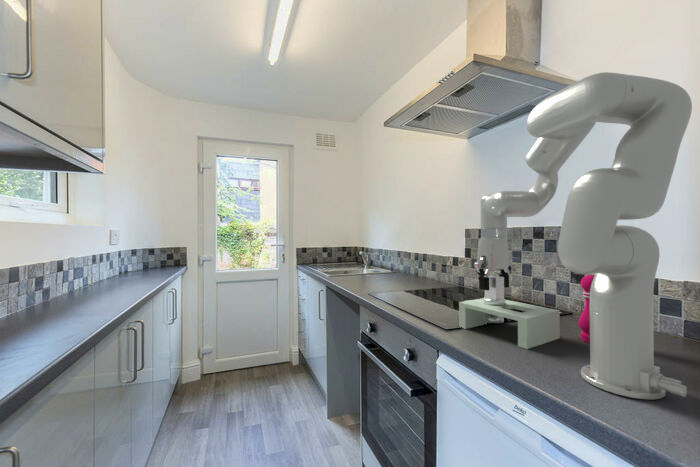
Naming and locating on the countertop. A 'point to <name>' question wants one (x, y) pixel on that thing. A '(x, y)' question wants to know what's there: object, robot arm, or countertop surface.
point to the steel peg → (495, 297)
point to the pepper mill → (586, 308)
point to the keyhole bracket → (532, 324)
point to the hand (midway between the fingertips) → (494, 288)
